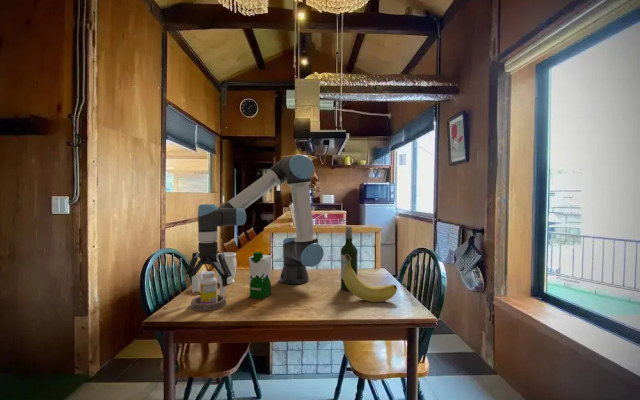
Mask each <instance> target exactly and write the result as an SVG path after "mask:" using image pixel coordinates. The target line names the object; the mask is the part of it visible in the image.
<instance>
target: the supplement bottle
mask: <svg viewBox="0 0 640 400" xmlns="http://www.w3.org/2000/svg"><path fill="white" fill-rule="evenodd" d="M207 271H208V272H203V279H202V280H201V281H200V292H199V294H200V295H199V296H200V301H201V304H212V303H216V302H217V295H218V278H217V277H215V276H216V275H215V274H216V271H213V270H212V271H211V270H210V271H209V270H207Z"/></svg>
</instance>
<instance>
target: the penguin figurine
mask: <svg viewBox="0 0 640 400" xmlns="http://www.w3.org/2000/svg"><path fill="white" fill-rule="evenodd" d="M208 271H209V270H202V271H200V272H199V273H198V274H197V275H198V291H197V293H200V281H201V280H202V279H203V272H208Z"/></svg>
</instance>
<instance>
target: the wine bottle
mask: <svg viewBox="0 0 640 400" xmlns="http://www.w3.org/2000/svg"><path fill="white" fill-rule="evenodd" d="M352 231H353V227H352V226H345V244H344V245H343V246H342V247H341V249H340V288H341V290H342V291H344V292H350V293H352V292H351V291H350V290H349V289H348V288H347V287H346V285H345V283H344V280H343V274H344V270H345V269H346V267H347V260H346V257H345V254H349V256H350V257H351V258H352V259H351V261H350V264H351V267H352V269H353V271H354V272H355V274H356V275H357V276H358V248H357V247H356V246H355V245H354V244H353V234H352V233H353V232H352Z"/></svg>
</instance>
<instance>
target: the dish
mask: <svg viewBox="0 0 640 400" xmlns="http://www.w3.org/2000/svg"><path fill="white" fill-rule="evenodd" d="M226 305H227V297H226V296H225V295H224V294H223V295H220V294H217V302H216V303H212V304H201V301H200V295H199V296H197V297H195V298H194V297H193V298H192V299H191V301H190V309H191V310H192V311H194V312H212V311H217V310H220V309H222V308H225V307H226Z"/></svg>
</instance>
